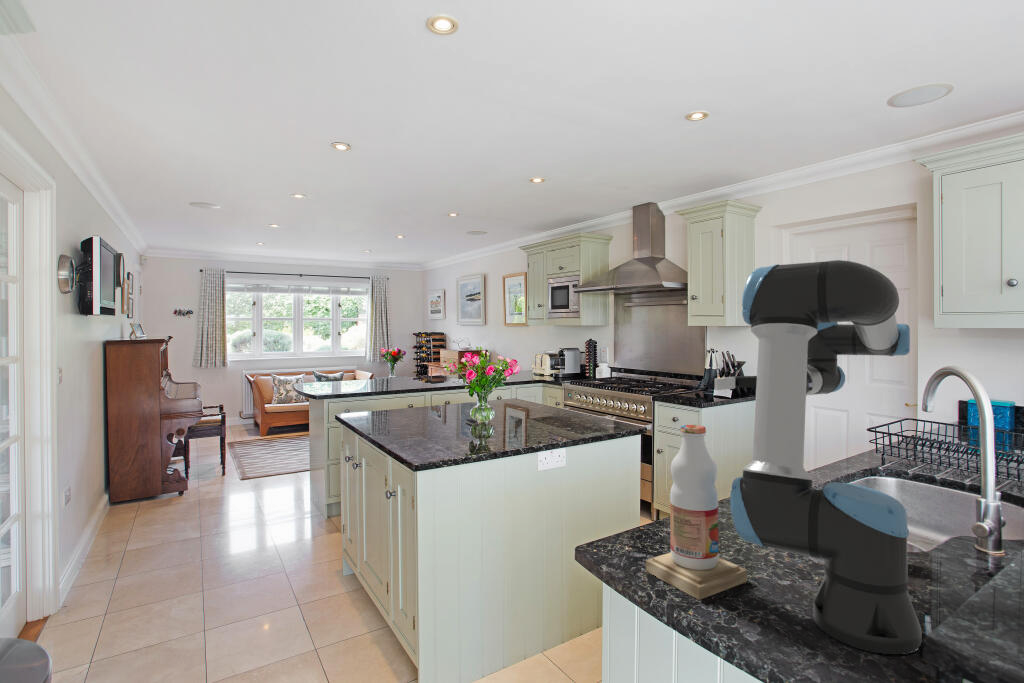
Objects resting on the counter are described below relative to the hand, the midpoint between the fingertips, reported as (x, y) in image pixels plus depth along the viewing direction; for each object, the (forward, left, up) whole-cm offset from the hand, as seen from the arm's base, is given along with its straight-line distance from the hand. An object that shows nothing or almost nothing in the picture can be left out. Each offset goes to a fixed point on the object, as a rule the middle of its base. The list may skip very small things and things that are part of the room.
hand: (740, 386), depth 118 cm
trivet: (-2, +18, -38) cm, 42 cm away
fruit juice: (-2, +18, -35) cm, 39 cm away
